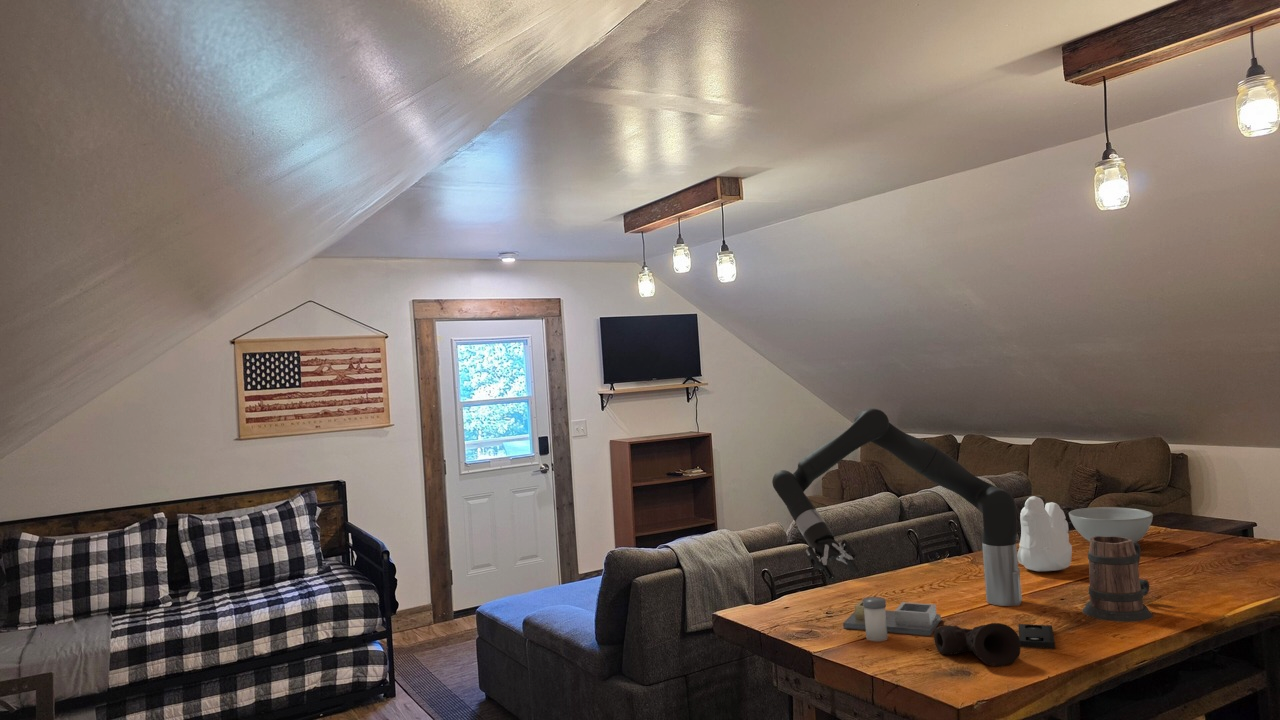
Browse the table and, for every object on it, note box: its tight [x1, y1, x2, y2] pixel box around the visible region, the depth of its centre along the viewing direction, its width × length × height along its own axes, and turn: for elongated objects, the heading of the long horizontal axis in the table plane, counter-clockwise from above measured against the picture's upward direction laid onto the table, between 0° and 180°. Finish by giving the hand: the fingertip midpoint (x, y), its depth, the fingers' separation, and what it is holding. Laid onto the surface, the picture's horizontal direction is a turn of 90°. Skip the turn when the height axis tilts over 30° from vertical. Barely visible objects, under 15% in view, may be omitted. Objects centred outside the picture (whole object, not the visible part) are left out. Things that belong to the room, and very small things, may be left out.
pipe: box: [933, 622, 1022, 668], centre depth 203 cm, size 10×15×15 cm
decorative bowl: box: [1068, 506, 1154, 543], centre depth 306 cm, size 27×27×12 cm
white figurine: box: [1017, 495, 1073, 572], centre depth 280 cm, size 25×16×25 cm, turn 116°
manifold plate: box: [842, 600, 942, 637], centre depth 232 cm, size 23×15×5 cm, turn 60°
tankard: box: [1081, 536, 1154, 623], centre depth 231 cm, size 24×17×20 cm
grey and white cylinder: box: [862, 596, 888, 642], centre depth 221 cm, size 6×6×10 cm
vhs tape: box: [1017, 623, 1056, 650], centre depth 212 cm, size 14×8×2 cm, turn 156°
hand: (844, 576), depth 231 cm, fingers open, 8 cm apart
